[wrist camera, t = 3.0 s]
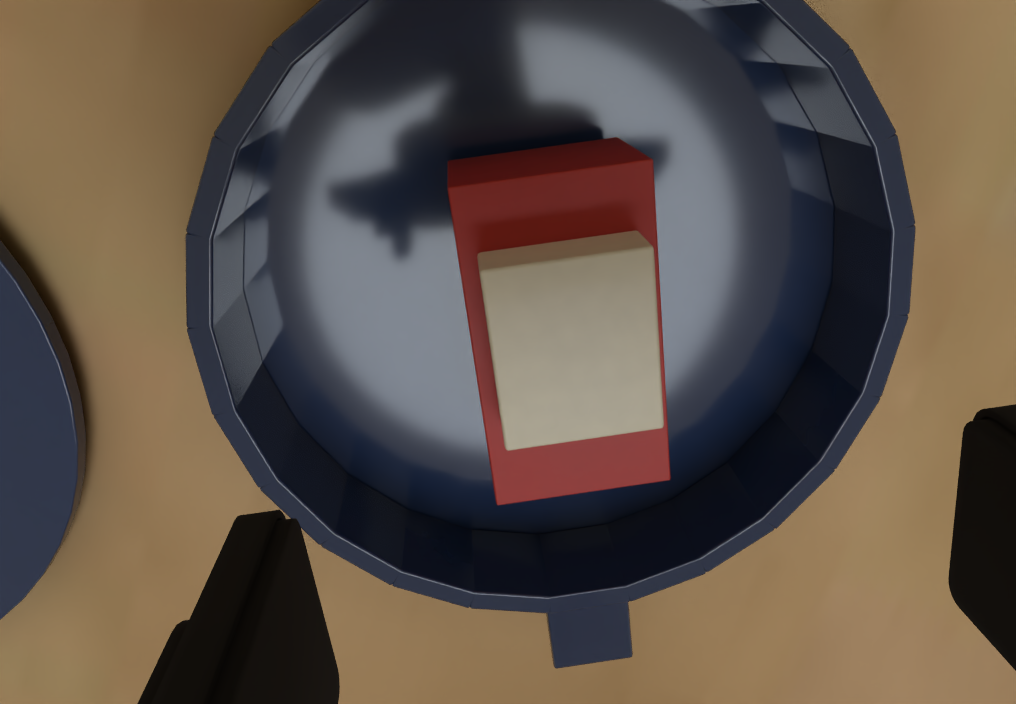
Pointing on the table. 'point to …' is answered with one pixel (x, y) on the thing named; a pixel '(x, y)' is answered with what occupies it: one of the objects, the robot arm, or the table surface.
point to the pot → (441, 305)
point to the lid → (34, 436)
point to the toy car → (564, 316)
